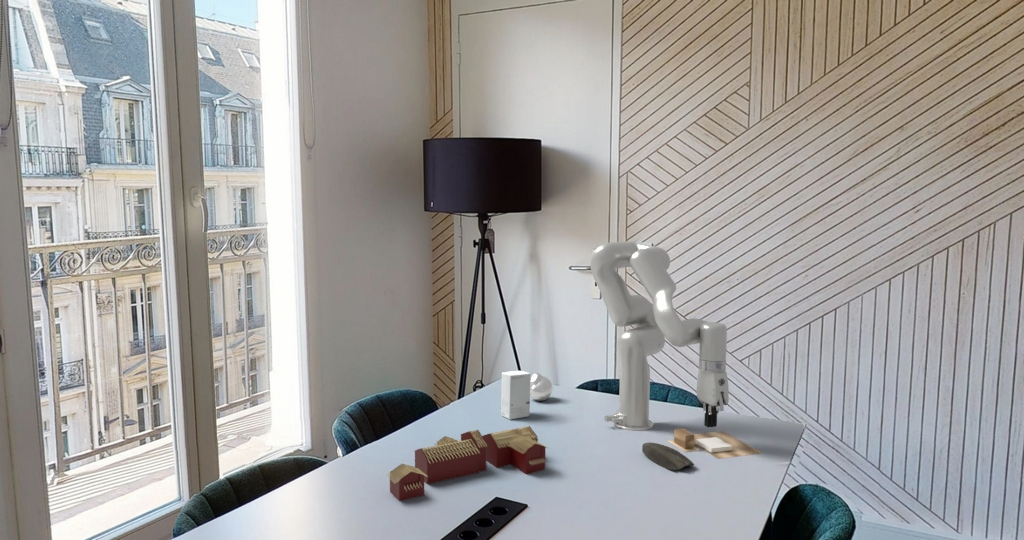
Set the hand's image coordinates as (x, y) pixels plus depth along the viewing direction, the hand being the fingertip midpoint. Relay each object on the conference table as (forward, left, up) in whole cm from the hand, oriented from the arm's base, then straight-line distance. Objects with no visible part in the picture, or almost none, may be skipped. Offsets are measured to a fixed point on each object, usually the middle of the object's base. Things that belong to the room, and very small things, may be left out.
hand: (710, 426), depth 209 cm
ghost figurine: (-32, +60, -7) cm, 68 cm away
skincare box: (-46, +45, -7) cm, 64 cm away
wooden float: (-8, +2, -7) cm, 10 cm away
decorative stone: (-19, -7, -7) cm, 22 cm away
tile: (0, +2, -5) cm, 5 cm away
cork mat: (+3, 0, -6) cm, 7 cm away
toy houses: (-74, +1, -7) cm, 74 cm away
